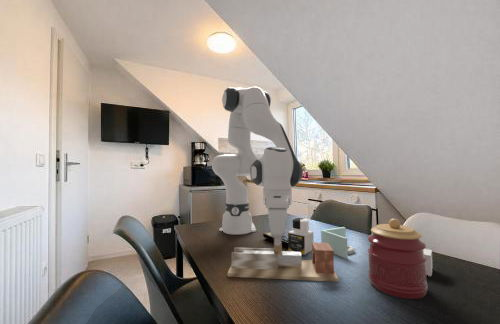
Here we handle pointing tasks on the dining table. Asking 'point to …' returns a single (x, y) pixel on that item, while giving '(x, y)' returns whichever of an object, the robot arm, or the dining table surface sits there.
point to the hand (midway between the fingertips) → (277, 243)
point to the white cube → (428, 261)
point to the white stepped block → (282, 255)
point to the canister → (397, 260)
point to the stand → (268, 266)
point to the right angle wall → (337, 241)
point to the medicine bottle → (300, 237)
